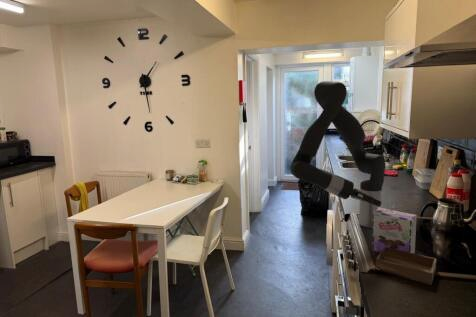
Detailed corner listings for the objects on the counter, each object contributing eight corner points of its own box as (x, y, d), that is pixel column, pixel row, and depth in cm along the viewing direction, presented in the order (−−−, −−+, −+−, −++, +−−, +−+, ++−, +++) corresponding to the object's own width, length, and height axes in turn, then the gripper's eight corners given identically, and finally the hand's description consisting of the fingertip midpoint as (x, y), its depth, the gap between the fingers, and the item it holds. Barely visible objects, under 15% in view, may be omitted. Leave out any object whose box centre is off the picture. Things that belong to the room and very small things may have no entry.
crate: (383, 256, 121) (383, 246, 120) (435, 269, 111) (436, 258, 110) (375, 269, 112) (375, 259, 111) (431, 285, 102) (432, 273, 101)
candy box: (371, 250, 126) (371, 211, 122) (377, 244, 130) (378, 206, 126) (409, 262, 116) (411, 219, 112) (415, 255, 120) (417, 214, 116)
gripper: (348, 179, 120) (388, 196, 120) (336, 175, 134) (371, 191, 135) (340, 197, 120) (379, 215, 121) (329, 192, 134) (364, 207, 135)
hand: (375, 202), depth 128 cm, fingers open, 8 cm apart
